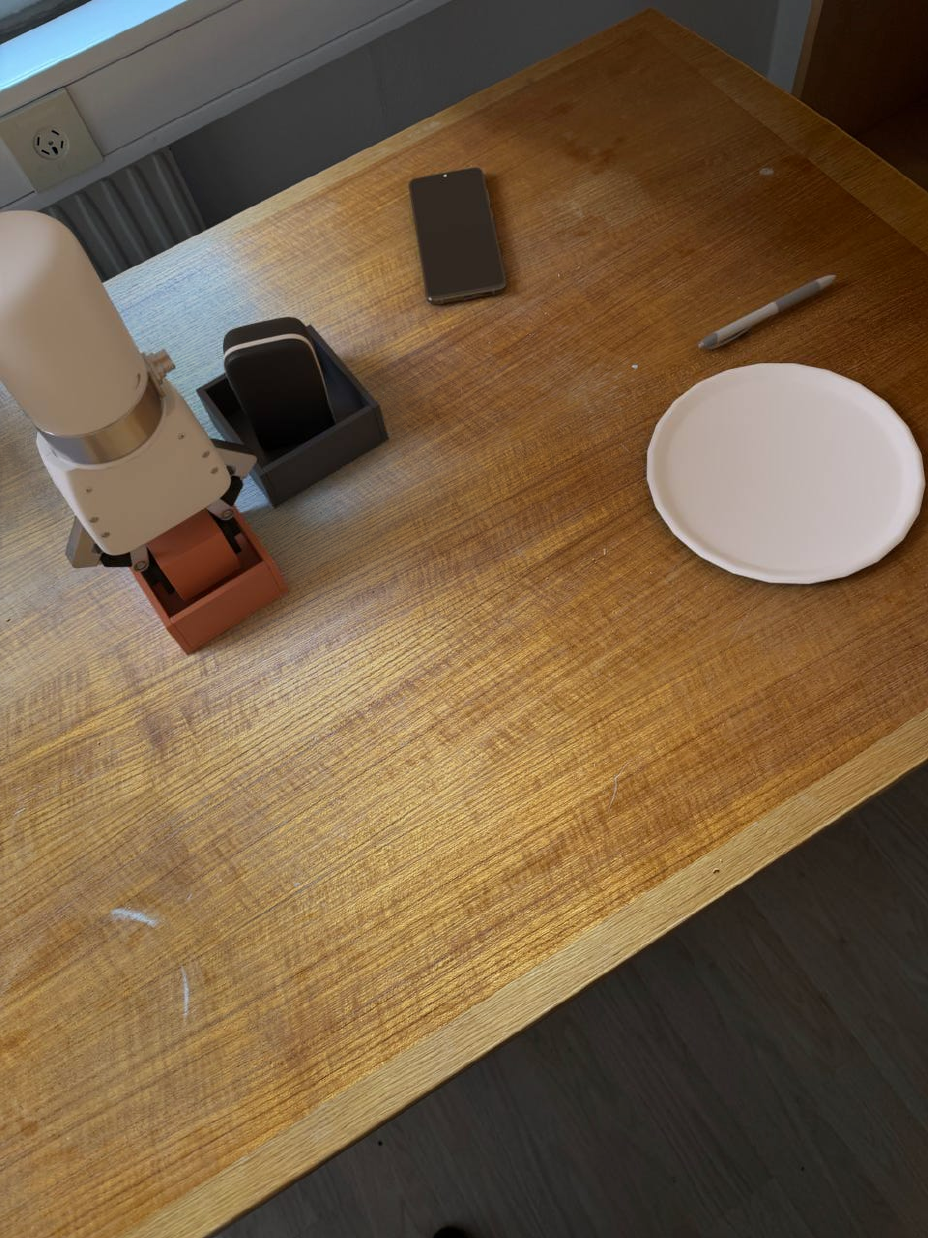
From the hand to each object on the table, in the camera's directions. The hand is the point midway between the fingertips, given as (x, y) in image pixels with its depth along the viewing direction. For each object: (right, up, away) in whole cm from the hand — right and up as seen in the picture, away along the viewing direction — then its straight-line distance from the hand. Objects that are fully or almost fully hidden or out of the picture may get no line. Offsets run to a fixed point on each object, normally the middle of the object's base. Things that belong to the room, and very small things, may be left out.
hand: (196, 558), depth 79 cm
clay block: (0, 0, 0) cm, 0 cm away
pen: (+46, +21, +10) cm, 52 cm away
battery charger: (+6, +12, +9) cm, 16 cm away
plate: (+45, +7, +2) cm, 46 cm away
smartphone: (+20, +31, +18) cm, 41 cm away
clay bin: (0, -2, +3) cm, 4 cm away
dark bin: (+6, +11, +9) cm, 16 cm away
